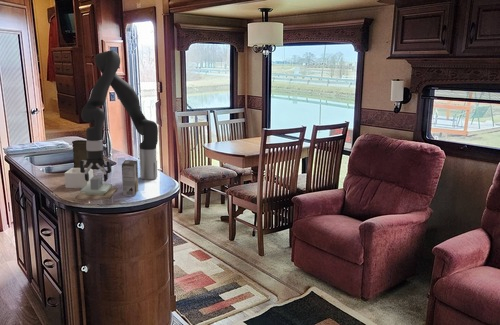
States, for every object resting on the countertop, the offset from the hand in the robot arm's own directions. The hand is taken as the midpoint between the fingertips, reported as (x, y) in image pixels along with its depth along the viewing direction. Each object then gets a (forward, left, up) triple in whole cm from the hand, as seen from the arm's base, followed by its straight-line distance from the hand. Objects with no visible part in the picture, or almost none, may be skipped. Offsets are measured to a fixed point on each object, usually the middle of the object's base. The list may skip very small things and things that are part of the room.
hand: (96, 181), depth 207 cm
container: (+22, -46, -7) cm, 51 cm away
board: (0, 0, -7) cm, 7 cm away
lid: (0, 0, -6) cm, 6 cm away
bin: (+13, -15, -7) cm, 21 cm away
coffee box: (-16, -2, -7) cm, 17 cm away
